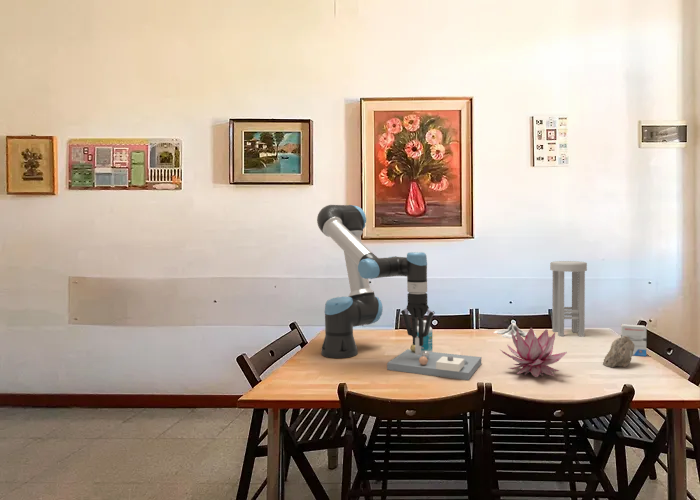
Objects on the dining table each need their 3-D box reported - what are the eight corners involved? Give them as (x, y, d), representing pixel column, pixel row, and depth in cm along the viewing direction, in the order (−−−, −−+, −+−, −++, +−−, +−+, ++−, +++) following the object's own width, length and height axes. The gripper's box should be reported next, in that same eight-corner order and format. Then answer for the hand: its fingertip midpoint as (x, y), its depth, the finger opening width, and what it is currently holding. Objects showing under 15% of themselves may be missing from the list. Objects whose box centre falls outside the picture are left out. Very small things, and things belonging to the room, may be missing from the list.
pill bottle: (432, 355, 193) (432, 323, 192) (414, 355, 194) (413, 322, 194) (432, 351, 200) (432, 319, 200) (415, 350, 202) (414, 319, 201)
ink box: (644, 353, 191) (644, 325, 191) (646, 356, 187) (646, 327, 186) (620, 351, 195) (620, 323, 194) (621, 354, 190) (622, 325, 190)
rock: (628, 355, 167) (605, 344, 172) (619, 378, 171) (597, 366, 177) (643, 340, 175) (620, 330, 181) (634, 362, 180) (613, 352, 185)
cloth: (544, 338, 222) (544, 325, 222) (510, 341, 218) (510, 328, 217) (516, 329, 244) (516, 317, 244) (484, 331, 239) (484, 319, 239)
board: (387, 369, 175) (387, 363, 174) (407, 355, 194) (407, 349, 194) (468, 380, 161) (468, 373, 161) (481, 363, 181) (481, 357, 181)
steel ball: (422, 350, 178) (429, 354, 177) (425, 348, 181) (432, 352, 179) (418, 357, 179) (426, 361, 177) (421, 355, 182) (428, 359, 180)
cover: (436, 369, 165) (436, 358, 165) (442, 363, 172) (442, 353, 172) (458, 371, 161) (458, 361, 161) (464, 365, 168) (464, 355, 168)
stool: (546, 330, 237) (547, 261, 236) (579, 330, 235) (579, 260, 234) (555, 337, 222) (556, 263, 221) (590, 337, 220) (591, 263, 219)
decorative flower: (560, 386, 153) (561, 341, 152) (494, 377, 164) (494, 334, 164) (569, 369, 171) (569, 328, 170) (509, 361, 182) (509, 323, 182)
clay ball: (417, 365, 171) (417, 356, 170) (420, 363, 173) (420, 354, 173) (426, 366, 169) (426, 357, 169) (429, 364, 172) (428, 355, 172)
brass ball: (409, 352, 189) (409, 344, 189) (411, 350, 192) (411, 342, 192) (416, 353, 187) (416, 345, 187) (419, 351, 190) (419, 343, 190)
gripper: (397, 293, 179) (398, 354, 180) (430, 294, 173) (431, 358, 174) (404, 290, 186) (405, 350, 187) (436, 292, 180) (437, 353, 181)
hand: (418, 354), depth 180 cm, fingers closed
